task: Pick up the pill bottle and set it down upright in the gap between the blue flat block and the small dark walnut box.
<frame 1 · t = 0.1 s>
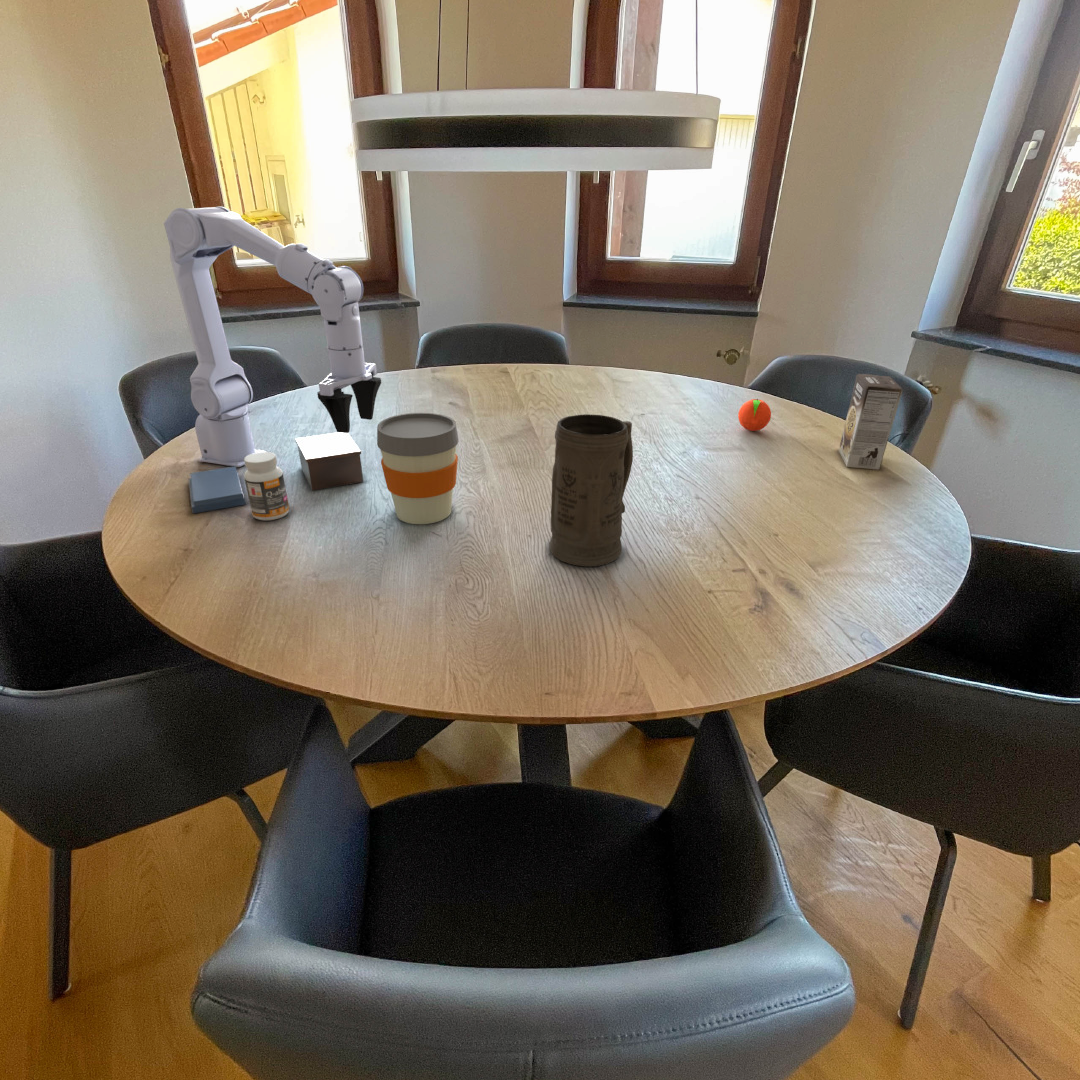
hand: (355, 425, 116), 10 cm above the table, tool pointing down, fingers open, 7 cm apart
beer stein: (592, 544, 100), on the table
walnut box: (331, 475, 121), on the table
reusable coffee cup: (424, 512, 109), on the table
clementine: (751, 431, 146), on the table
coffee box: (857, 461, 132), on the table
pill bottle: (271, 515, 107), on the table
blue flat block: (217, 494, 114), on the table
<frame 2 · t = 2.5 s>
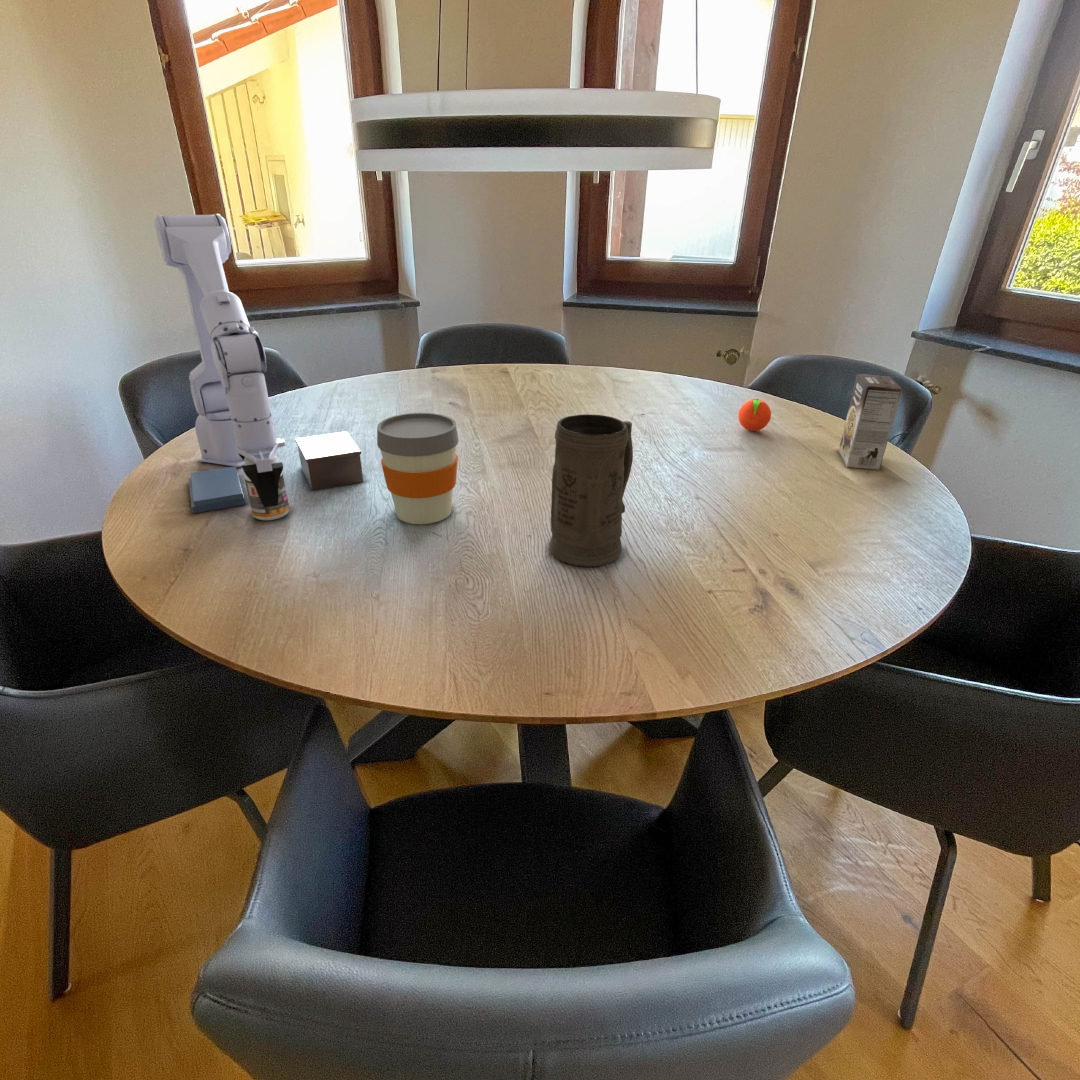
hand: (268, 497, 106), 3 cm above the table, tool pointing down, fingers closed on pill bottle, 5 cm apart
pill bottle: (271, 515, 107), on the table, touching gripper
everything else where it was.
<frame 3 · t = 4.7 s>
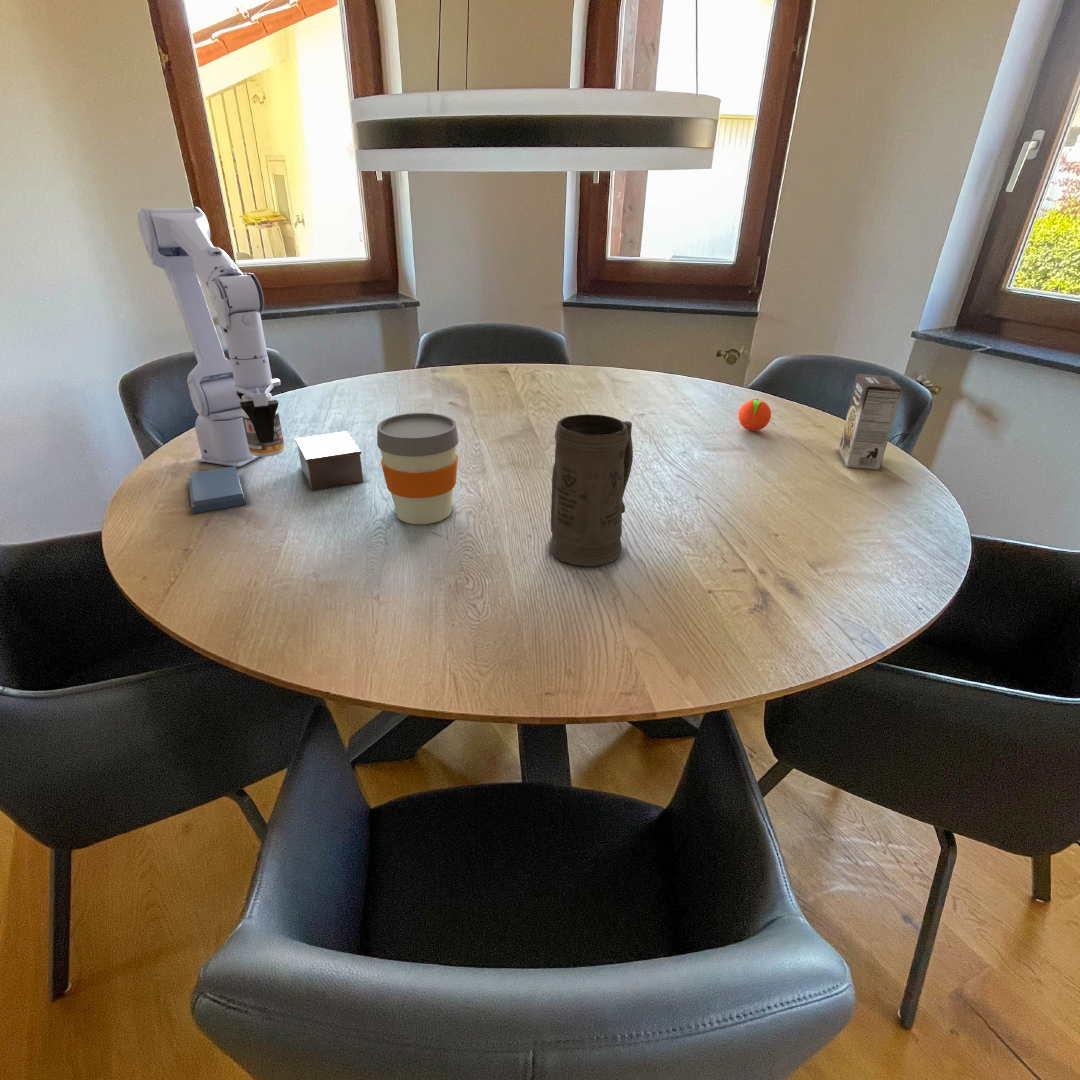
hand: (264, 436, 112), 9 cm above the table, tool pointing down, fingers closed on pill bottle, 5 cm apart
pill bottle: (267, 453, 113), point 6 cm above the table, touching gripper
everything else where it was.
when the fingers open (3 cm above the table, at t = 6.9 s): pill bottle stays where it is, on the table.
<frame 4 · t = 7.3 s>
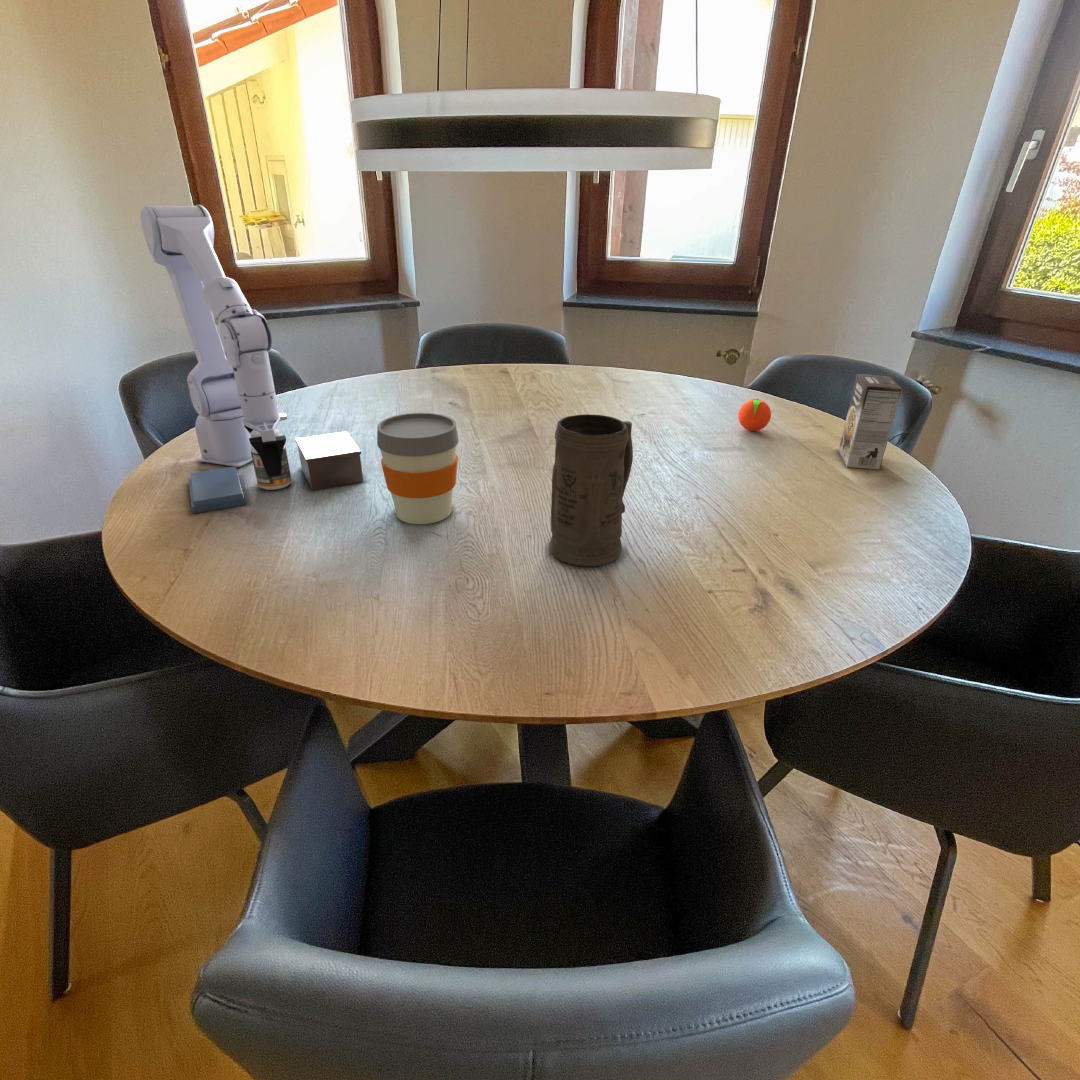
hand: (271, 467, 116), 3 cm above the table, tool pointing down, fingers open, 7 cm apart
pill bottle: (275, 485, 118), on the table
everything else where it was.
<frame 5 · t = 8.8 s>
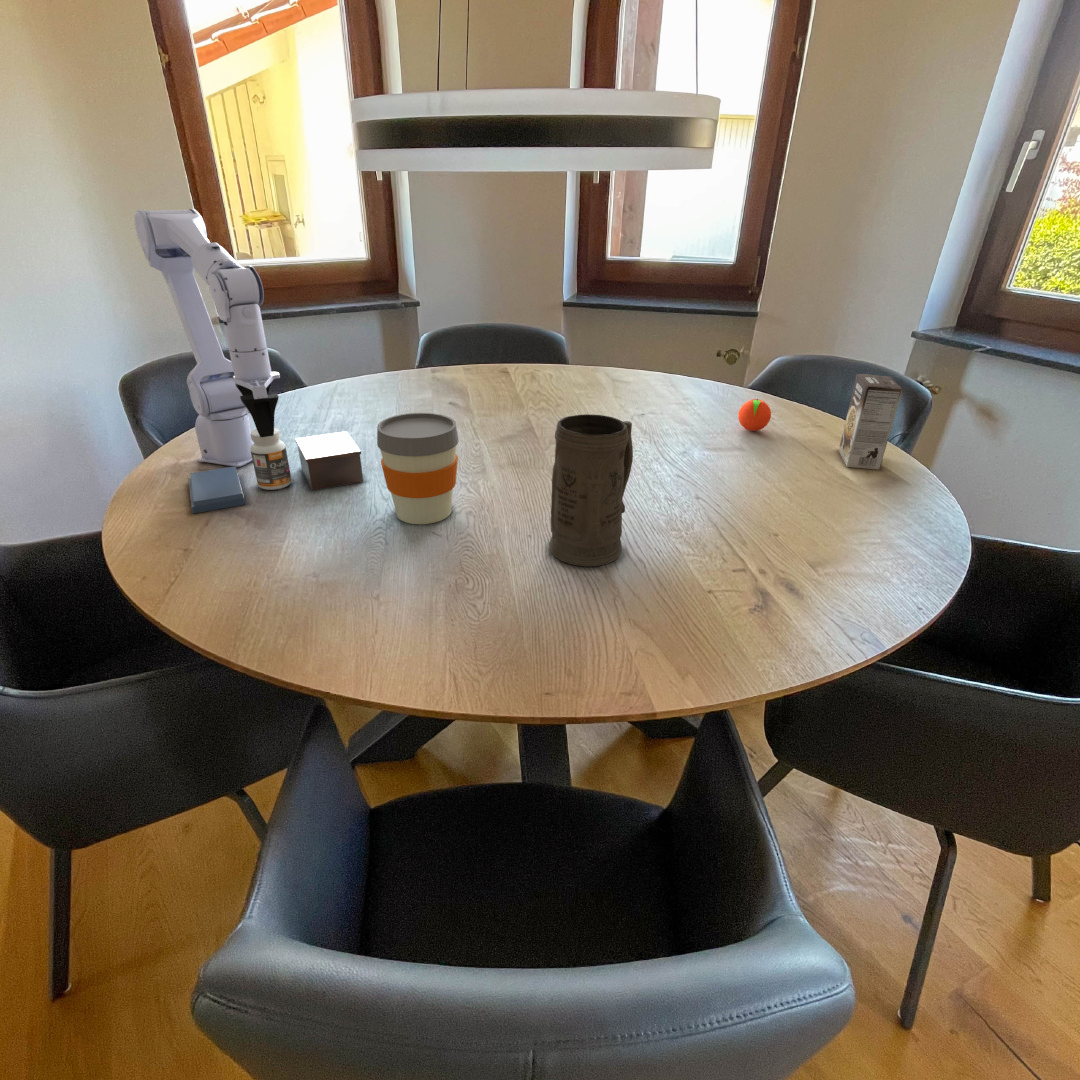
hand: (264, 429, 112), 10 cm above the table, tool pointing down, fingers open, 7 cm apart
nothing on the table moved.
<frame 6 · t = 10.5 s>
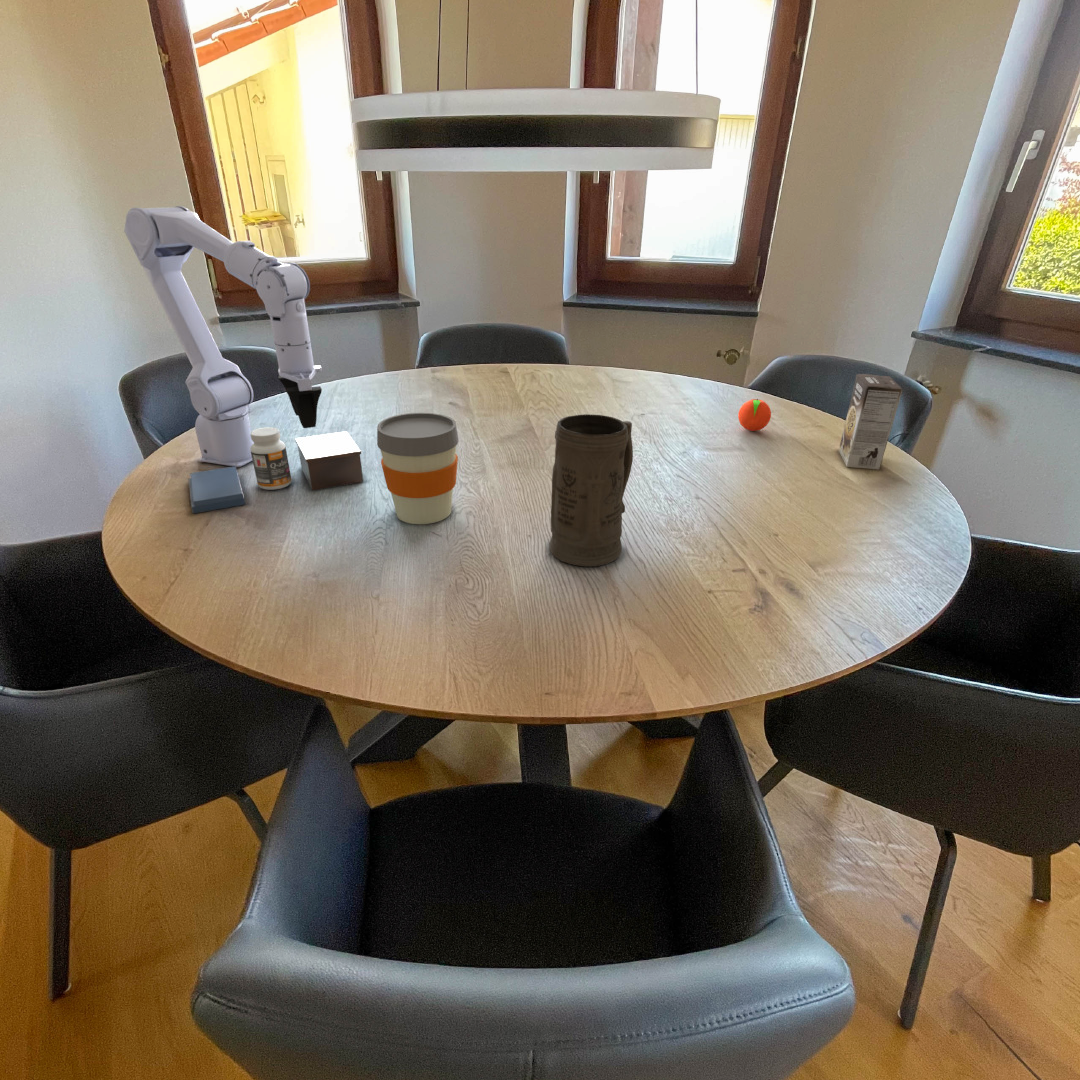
hand: (305, 420, 117), 10 cm above the table, tool pointing down, fingers open, 7 cm apart
nothing on the table moved.
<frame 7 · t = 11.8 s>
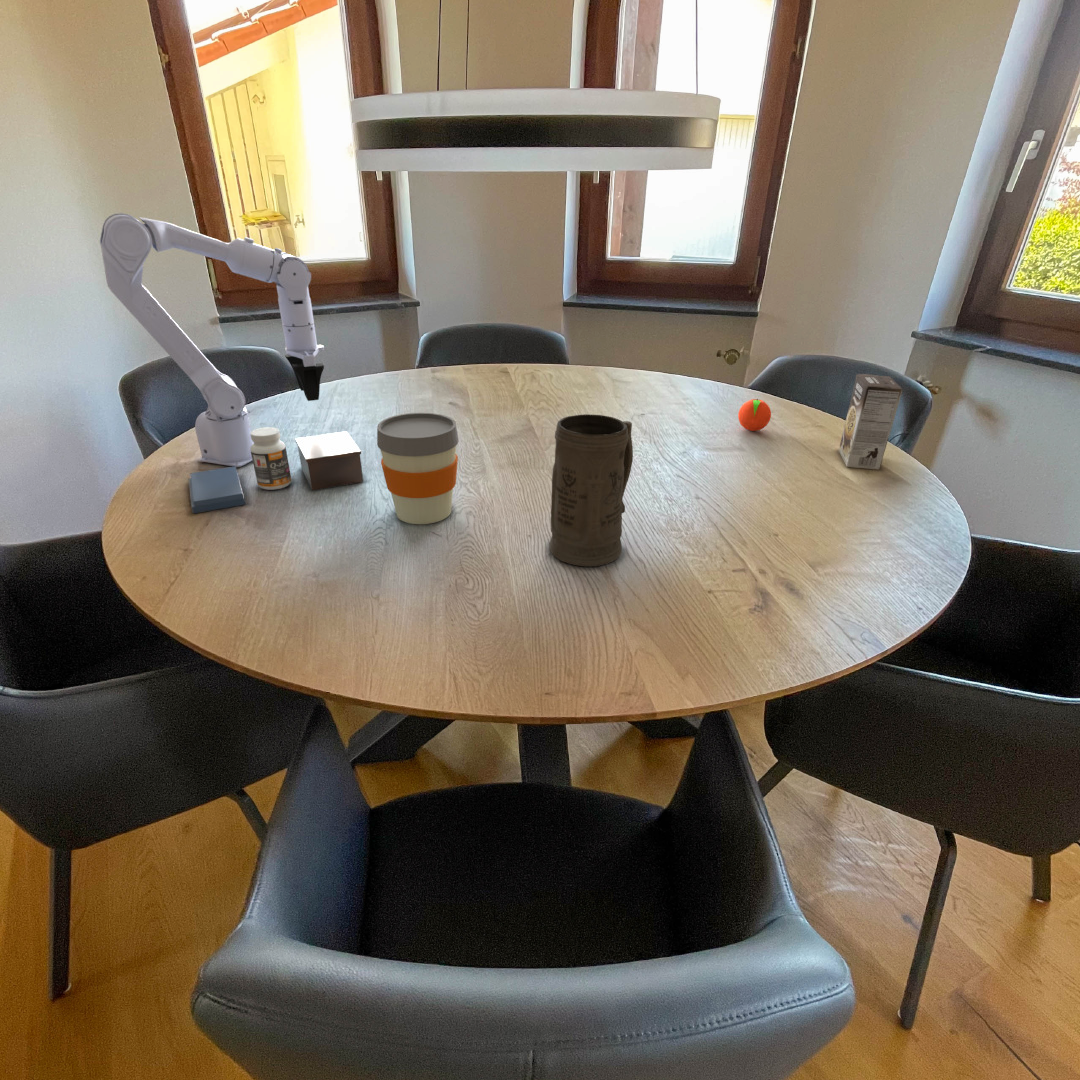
hand: (309, 394, 130), 10 cm above the table, tool pointing down, fingers open, 7 cm apart
nothing on the table moved.
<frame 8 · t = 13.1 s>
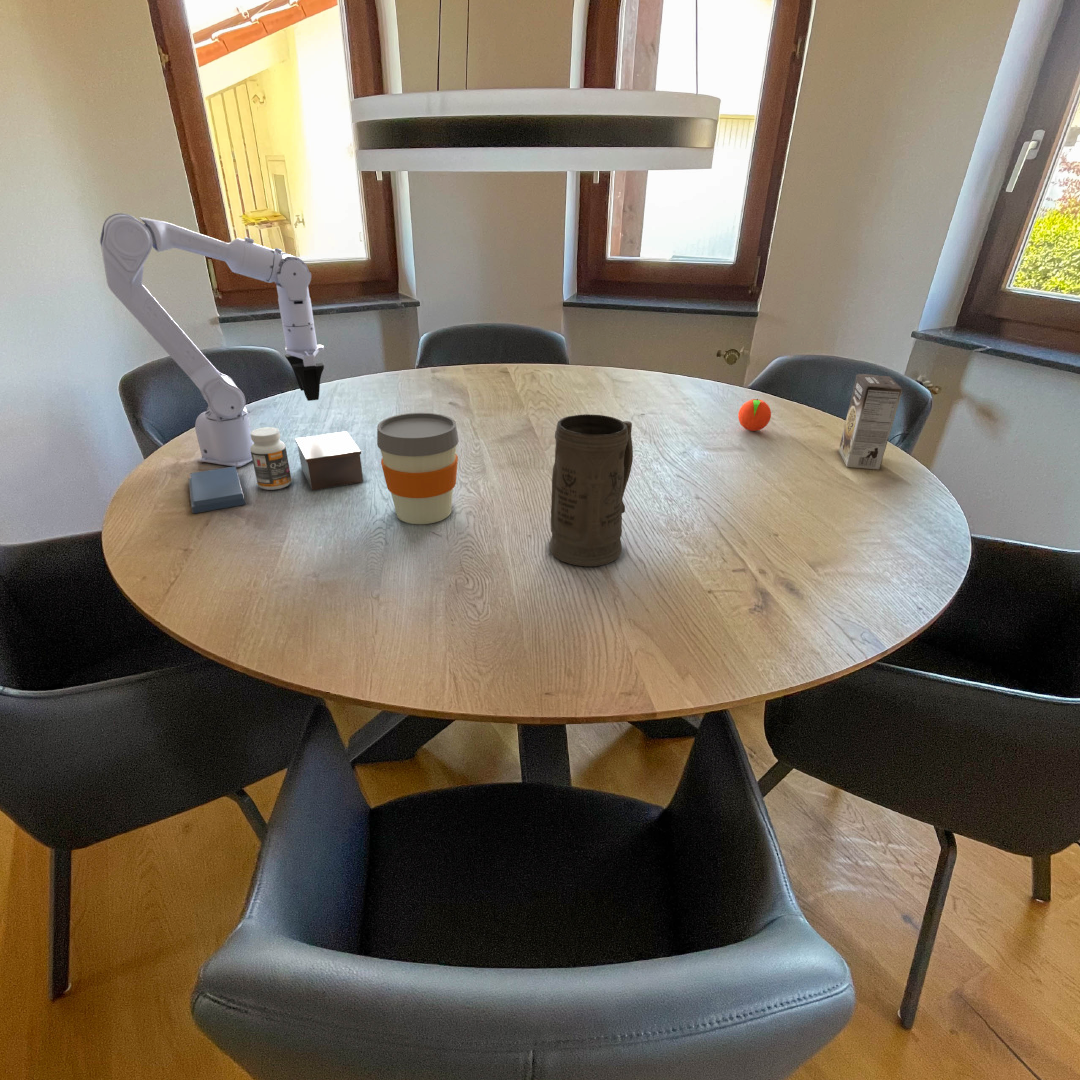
hand: (309, 394, 130), 10 cm above the table, tool pointing down, fingers open, 7 cm apart
nothing on the table moved.
at the end: pill bottle 0.1 cm from the target spot, on the table; pill bottle tilted 0°; the gripper is holding nothing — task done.
